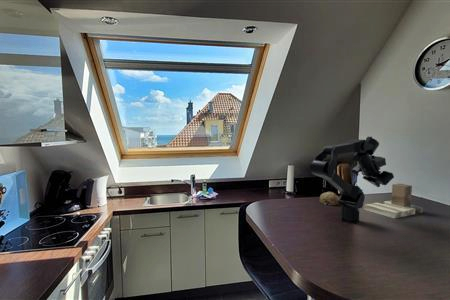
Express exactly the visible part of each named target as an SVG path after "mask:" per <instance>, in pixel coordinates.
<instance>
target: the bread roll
mask: <svg viewBox="0 0 450 300" xmlns="http://www.w3.org/2000/svg"><path fill="white" fill-rule="evenodd" d="M339 198H340V197H339V196H338V195H337V194H336V193H334V192H333V191H327V192H323V193H322V194H320V196H319V202H320V203H321V204H322V203H323V205H326V204H328V206H339V205H338V199H339Z"/></svg>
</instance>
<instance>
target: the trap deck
mask: <svg viewBox="0 0 450 300" xmlns="http://www.w3.org/2000/svg"><path fill="white" fill-rule="evenodd" d="M423 208H424V207H421V206H417V205H414V204H413V205H412V204H411V206H406V207H402V206H398V205H394V204H391V200H386V201H383V203H381V202H373V203H366V204H363V209H364V211H367V212H371V213H375V214H377V215H382V216H385V217H388V218H391V219H397V218H398V219H399V218H403V217H408V216H412V215H418V214H421V213H423Z"/></svg>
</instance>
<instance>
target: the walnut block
mask: <svg viewBox="0 0 450 300" xmlns="http://www.w3.org/2000/svg"><path fill="white" fill-rule="evenodd" d="M391 186H392V187H391V199H390V201H391V204H394V205H398V206H402V207H406V206H411V205H412V194H413V193H412V191H413V185H408V184H405V183H393V184H392V185H391Z"/></svg>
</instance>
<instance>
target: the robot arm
mask: <svg viewBox="0 0 450 300" xmlns="http://www.w3.org/2000/svg"><path fill="white" fill-rule="evenodd" d="M379 146H380V142H379V141H378V140H377V139H375V138H374V137H373V136H367V137H366V139H359V138H358V139H356V138H355V139H353V138H350V139H349V140H348V139H347V141H346V142H344V143H340V144H334V145H326V146H324V147H323V148H322V150H321V151H320V152H319V153H317V155H315V156H314V158H313V160H312V161H311V163H310V165H309V169H310V172H311V174H312V175H314V176H316V177H319V178H322V179H325V180H326V181H327V182H328V183H329V184H330V185H332V187H334V188H335V189H337V191H338V192H340V196H339V197H338V198H339V199H338V205H337V206H341V218H340V221H342V222H347V223H354V224H358V222H360V209H362V208H364V202H365V193H364V192H363V189H361V187H360V186H358V185H355V184H349V183H348V182H347V181H346V180H345V179H344V178H342V176H341V175H339V174H338V173H337V172H336V167H337V166H338V159H337V158H338V156H339V155H345V154H349V153H355V154H353V156H352V158H351V161H352V162H357V164H356V166H354V167H353V168H352V169H351V173H352V175H354V176H356V177H358V176H359V175H360V174H359V173H360V172H361V176H362V179H363V180H365V181H367V183H370V184H372V186H375V187H377V188H380V187H381V185H382V186H387V185H388V183H389V182H391V181H392V180H393V179H394V178H395V175H394V173H393V172H390V171H387V170H382V171H381V167H384V166H387V162H386V161H387V160H386V158H385V157H383V156H375V155H374V153H375V152H376V151H377V149H378V148H379ZM327 157H331V159H330V161H327V160H325V159H326V158H327Z"/></svg>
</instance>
